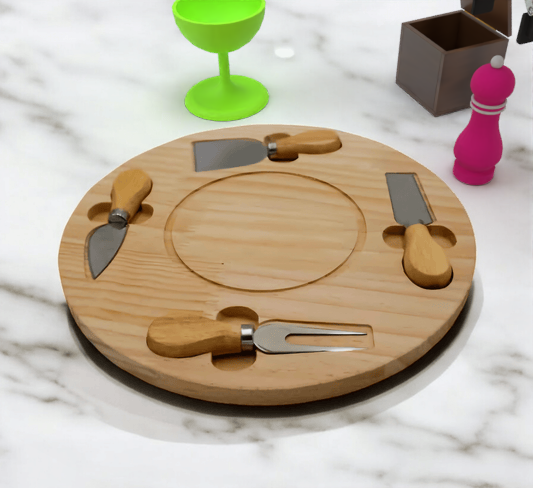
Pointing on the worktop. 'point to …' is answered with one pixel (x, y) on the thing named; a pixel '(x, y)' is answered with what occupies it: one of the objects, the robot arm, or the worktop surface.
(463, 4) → the lid
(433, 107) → the chest
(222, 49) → the wineglass
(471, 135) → the pepper mill
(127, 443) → the worktop surface
